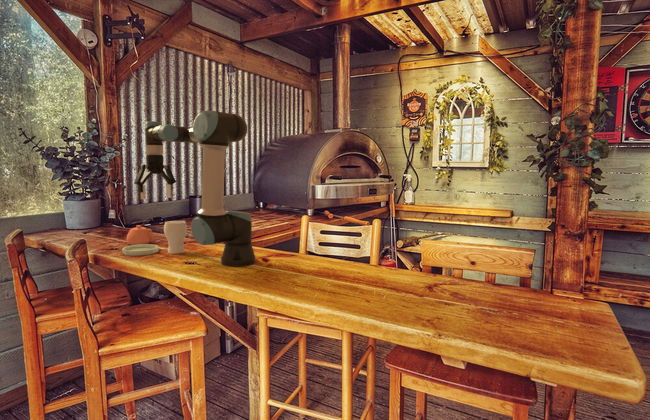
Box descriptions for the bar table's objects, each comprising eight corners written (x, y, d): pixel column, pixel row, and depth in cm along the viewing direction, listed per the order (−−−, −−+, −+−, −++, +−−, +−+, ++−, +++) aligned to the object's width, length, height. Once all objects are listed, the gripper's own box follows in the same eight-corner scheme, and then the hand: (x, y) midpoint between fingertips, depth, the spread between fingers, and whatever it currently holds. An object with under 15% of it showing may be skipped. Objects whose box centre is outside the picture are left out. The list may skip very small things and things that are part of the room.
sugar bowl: (134, 241, 216) (133, 223, 215) (159, 242, 215) (158, 224, 214) (121, 246, 204) (120, 227, 202) (148, 247, 203) (147, 227, 202)
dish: (165, 251, 194) (164, 247, 193) (132, 257, 181) (132, 252, 181) (148, 246, 203) (147, 242, 203) (116, 252, 191) (116, 247, 190)
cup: (191, 250, 198) (190, 220, 196) (181, 255, 187) (180, 224, 186) (171, 249, 199) (170, 220, 197) (160, 254, 188) (159, 223, 187)
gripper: (173, 155, 201) (175, 196, 203) (124, 153, 181) (127, 199, 183) (182, 155, 196) (183, 197, 199) (133, 153, 176) (135, 200, 179)
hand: (156, 198), depth 191 cm, fingers open, 13 cm apart
